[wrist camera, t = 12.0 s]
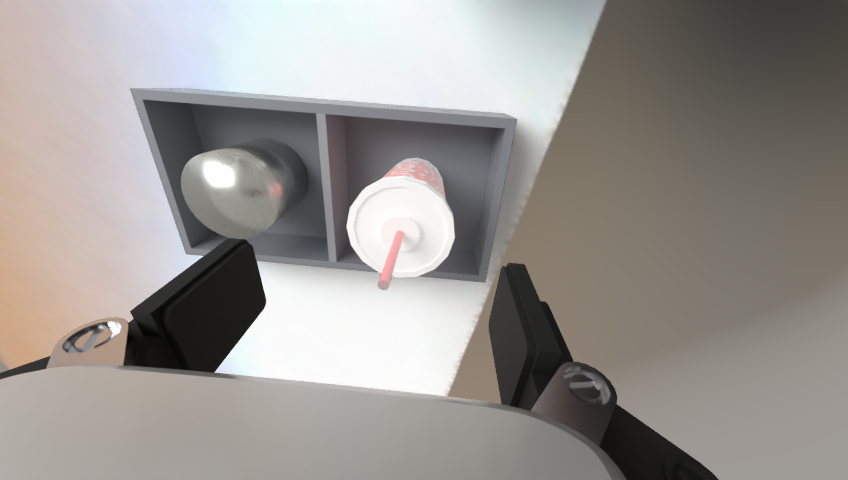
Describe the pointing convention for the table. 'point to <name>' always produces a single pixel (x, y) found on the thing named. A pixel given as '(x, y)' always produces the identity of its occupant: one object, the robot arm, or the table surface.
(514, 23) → the table surface
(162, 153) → the organizer tray
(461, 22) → the table surface
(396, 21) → the table surface
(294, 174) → the metal tin
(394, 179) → the beverage cup
